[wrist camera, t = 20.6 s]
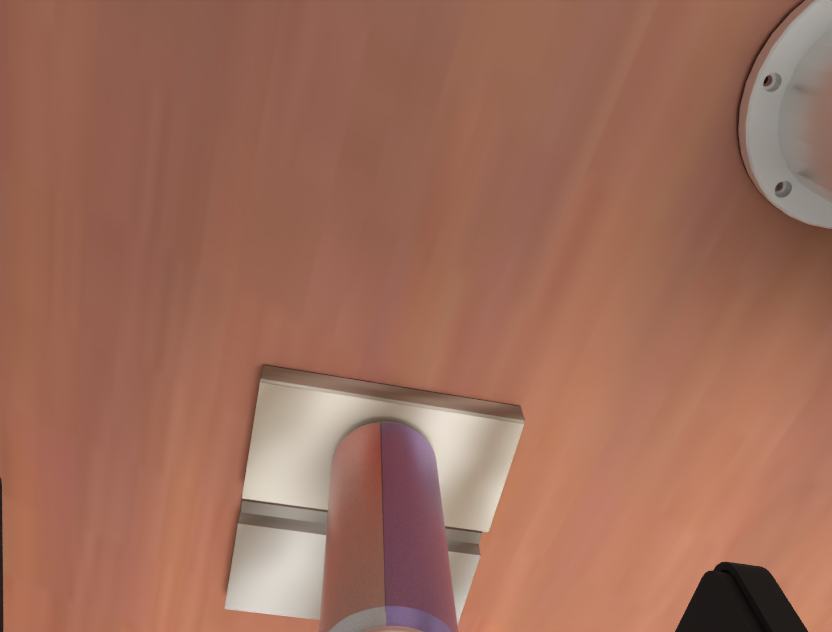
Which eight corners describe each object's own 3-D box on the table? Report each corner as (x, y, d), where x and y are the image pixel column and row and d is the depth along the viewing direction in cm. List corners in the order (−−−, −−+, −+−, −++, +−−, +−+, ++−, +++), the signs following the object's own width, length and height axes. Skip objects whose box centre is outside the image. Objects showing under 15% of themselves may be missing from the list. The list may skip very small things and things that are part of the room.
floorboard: (480, 527, 49) (484, 544, 47) (451, 616, 52) (453, 635, 51) (243, 494, 47) (239, 511, 45) (228, 589, 50) (224, 608, 49)
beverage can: (434, 412, 43) (463, 624, 30) (436, 497, 46) (464, 728, 32) (327, 418, 43) (308, 634, 29) (336, 503, 45) (321, 737, 32)
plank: (520, 406, 45) (525, 420, 44) (484, 514, 49) (488, 532, 47) (264, 364, 43) (260, 379, 42) (245, 481, 46) (241, 498, 45)
